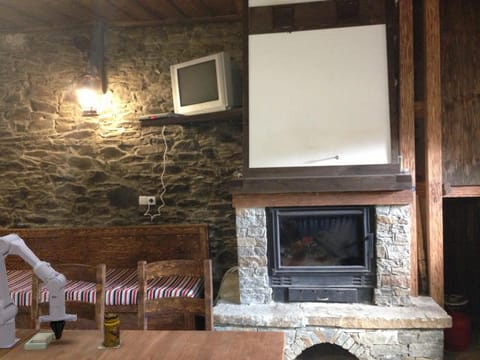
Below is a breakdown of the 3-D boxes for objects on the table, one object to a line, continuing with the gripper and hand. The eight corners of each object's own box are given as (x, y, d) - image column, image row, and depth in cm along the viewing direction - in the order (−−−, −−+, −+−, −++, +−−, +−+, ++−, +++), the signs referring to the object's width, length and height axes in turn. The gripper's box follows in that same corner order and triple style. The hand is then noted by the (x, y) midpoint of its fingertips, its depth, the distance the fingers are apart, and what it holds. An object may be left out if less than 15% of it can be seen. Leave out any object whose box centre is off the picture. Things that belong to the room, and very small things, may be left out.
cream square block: (33, 347, 163) (32, 339, 163) (39, 341, 168) (38, 334, 168) (45, 346, 163) (45, 339, 163) (51, 341, 168) (51, 334, 168)
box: (24, 349, 160) (24, 344, 160) (38, 337, 171) (38, 333, 171) (45, 349, 160) (45, 344, 160) (57, 337, 171) (57, 332, 171)
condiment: (119, 347, 160) (118, 317, 159) (97, 349, 159) (96, 318, 158) (122, 340, 167) (121, 310, 167) (100, 341, 166) (99, 312, 165)
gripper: (79, 301, 169) (80, 334, 170) (43, 302, 169) (45, 335, 169) (72, 307, 162) (73, 341, 163) (35, 308, 162) (37, 342, 162)
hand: (58, 338), depth 166 cm, fingers closed
